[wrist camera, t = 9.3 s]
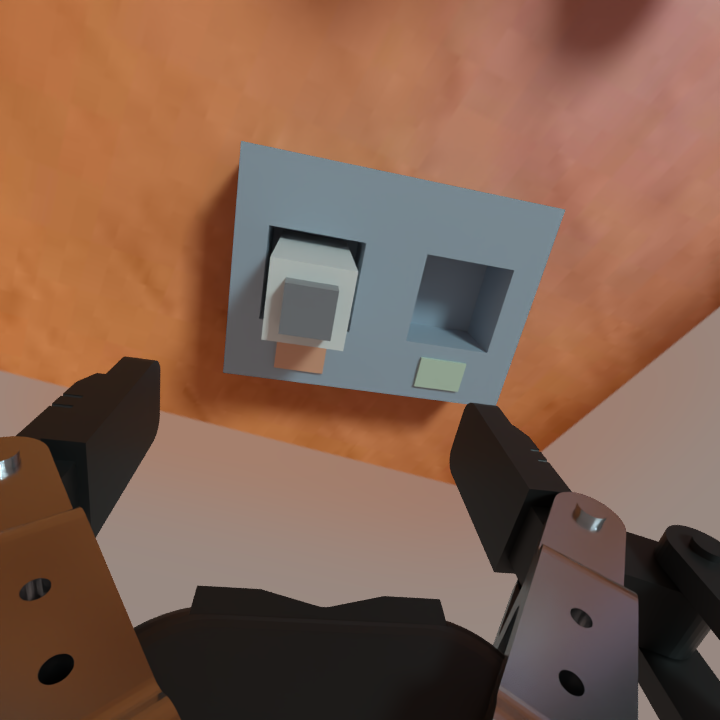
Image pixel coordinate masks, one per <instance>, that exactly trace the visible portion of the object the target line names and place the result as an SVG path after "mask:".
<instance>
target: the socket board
mask: <svg viewBox="0 0 720 720" xmlns="http://www.w3.org/2000/svg"><path fill="white" fill-rule="evenodd" d="M564 212H565V210H564V209H559V208H555V207H550V206H545V205H541V204H536V203H531V202H526V201H522V200H517V199H512V198H508V197H503V196H498V195H493V194H489V193H484V192H479V191H475V190H470V189H465V188H460V187H456V186H451V185H446V184H442V183H437V182H432V181H427V180H423V179H418V178H413V177H409V176H404V175H399V174H394V173H390V172H385V171H380V170H375V169H371V168H366V167H361V166H357V165H352V164H347V163H342V162H338V161H333V160H328V159H324V158H319V157H314V156H309V155H305V154H300V153H295V152H291V151H286V150H281V149H276V148H272V147H267V146H262V145H258V144H253V143H248V142H243V141H241V150H240V162H239V175H238V188H237V201H236V214H235V227H234V240H233V253H232V265H231V278H230V291H229V304H228V317H227V330H226V343H225V355H224V368H223V373H230V374H238V375H245V376H253V377H261V378H269V379H276V380H284V381H292V382H300V383H307V384H315V385H323V386H331V387H338V388H346V389H354V390H362V391H369V392H377V393H385V394H393V395H400V396H408V397H416V398H424V399H431V400H439V401H447V402H454V403H462V404H468V403H470V402H472V403H479V404H487V405H495V406H496V404H497V401H498V398H499V395H500V392H501V390H502V387H503V384H504V381H505V378H506V375H507V373H508V370H509V367H510V364H511V361H512V359H513V356H514V353H515V350H516V347H517V344H518V342H519V339H520V336H521V333H522V330H523V328H524V325H525V322H526V319H527V316H528V313H529V311H530V308H531V305H532V302H533V299H534V297H535V294H536V291H537V288H538V285H539V282H540V280H541V277H542V274H543V271H544V268H545V266H546V263H547V260H548V257H549V254H550V252H551V249H552V246H553V243H554V240H555V237H556V235H557V232H558V229H559V226H560V223H561V221H562V218H563V215H564ZM284 230H287V231H293V232H298V233H304V234H309V235H315V236H320V237H326V238H331V239H336V240H342V241H346V242H347V245H348V247H349V250H350V252H351V255H352V257H353V260H354V262H355V265H356V267H357V270H358V276H357V281H356V286H355V292H354V297H353V302H352V307H351V313H350V318H349V323H348V329H347V334H346V339H345V344H344V350H343V351H338V350H331V349H324V348H317V347H310V346H303V345H296V344H289V343H282V342H275V341H268V340H261V337H262V328H263V319H264V310H265V301H266V292H267V283H268V274H269V265H270V256H271V254H272V253H273V251H274V249H275V247H276V245H277V243H278V241H279V239H280V237H281V235H282V233H283V231H284Z"/></svg>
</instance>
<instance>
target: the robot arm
mask: <svg viewBox="0 0 720 720" xmlns="http://www.w3.org/2000/svg"><path fill="white" fill-rule="evenodd" d="M159 417H160V365H159V362H158V361H155V360H148V359H140V358H132V357H123V358H122V359H121V360H120V361H119V362H118V363H117V364H116V365H115V366H114V367H113V368H112V369H111V370H110V371H109V372H107V373H106V374H100V373H96V374H94V375H91V376H89V377H87V378H84V379H82V380H80V381H77V382H76V383H75V384H73V385H72V386H71V387H70V388H69V389H68V390H67V391H66V392H65V393H63V396H60V397H59V398H58V399H57V400H56V401H55V402H53V403H52V406H49V407H48V408H47V409H46V410H44V411H43V412H42V413H41V414H40V415H39V416H38V417H36V418H35V419H34V420H33V421H32V422H31V423H30V424H29V425H28V426H26V427H25V428H24V429H23V430H22V431H21V432H20V433H18V434H17V435H16V436H11V437H0V720H638V683H639V684H640V686H641V688H642V689H643V691H644V693H645V695H646V697H647V698H648V700H649V702H650V704H651V705H652V707H653V709H654V711H655V712H656V714H657V716H658V718H659V719H660V720H720V681H719V679H718V678H717V677H716V675H715V674H714V673H713V671H712V670H711V669H710V667H709V666H708V664H707V663H706V662H705V660H704V659H703V658H702V656H701V655H700V653H699V652H698V651H697V649H696V648H697V647H698V646H699V644H700V643H701V642H702V640H703V639H704V638H705V636H706V635H707V634H708V632H709V631H710V629H711V630H712V631H713V632H714V633H715V635H716V636H717V637H718V639H719V640H720V542H719V541H718V540H716V539H714V538H712V537H711V536H709V535H707V534H705V533H703V532H701V531H698V530H696V529H693V528H690V527H686V526H681V525H672V526H669V527H668V528H667V529H666V531H665V532H664V534H663V536H662V537H661V539H660V541H659V542H657V541H654V540H651V539H648V538H645V537H642V536H638V535H635V534H632V533H629V532H626V528H625V525H624V524H623V522H622V520H621V519H620V518H619V517H618V516H617V515H616V514H615V513H614V512H613V511H612V510H611V509H609V508H608V507H607V506H605V505H604V504H602V503H600V502H599V501H597V500H595V499H593V498H591V497H588V496H586V495H583V494H579V493H575V492H571V490H570V489H569V488H568V486H567V485H566V484H565V483H564V481H563V480H562V479H561V477H560V476H559V475H558V474H557V472H556V471H555V470H554V468H552V466H551V465H550V463H548V462H547V459H546V458H545V457H544V456H543V454H542V453H541V452H539V449H538V448H537V447H536V445H535V444H534V443H533V441H532V440H531V439H530V437H528V436H527V435H526V434H524V433H523V432H522V431H520V430H519V429H518V428H516V427H515V426H514V425H512V424H511V423H510V422H509V420H508V419H507V418H506V416H505V415H504V414H503V412H502V411H501V410H500V408H499V407H498V406H495V405H487V404H479V403H472V402H470V403H468V404H467V405H466V407H465V409H464V412H463V415H462V418H461V421H460V424H459V427H458V430H457V433H456V436H455V439H454V442H453V446H452V449H451V453H450V470H451V473H452V476H453V478H454V480H455V483H456V485H457V487H458V489H459V492H460V494H461V497H462V499H463V501H464V503H465V506H466V508H467V510H468V513H469V515H470V517H471V520H472V522H473V524H474V527H475V529H476V531H477V534H478V536H479V538H480V540H481V543H482V545H483V547H484V550H485V552H486V554H487V557H488V559H489V561H490V564H491V566H492V568H493V571H494V572H499V573H514V574H516V576H517V578H518V580H517V582H516V584H515V586H514V589H513V591H512V594H511V596H510V600H509V602H508V605H507V608H506V610H505V613H504V616H503V619H502V622H501V624H500V627H499V630H498V633H497V636H496V639H495V642H494V644H493V645H492V644H490V643H489V642H487V641H486V640H484V639H483V638H481V637H480V636H478V635H476V634H474V633H473V632H471V631H469V630H467V629H465V628H463V627H461V626H458V625H456V624H454V623H451V622H448V621H446V620H445V616H444V613H443V609H442V605H441V602H440V600H439V599H424V598H407V597H389V596H388V597H387V596H383V597H378V598H372V599H368V600H363V601H357V602H352V603H347V604H342V605H338V606H332V607H319V606H315V605H312V604H308V603H305V602H302V601H298V600H295V599H291V598H288V597H285V596H282V595H278V594H275V593H272V592H268V591H265V590H262V589H247V588H230V587H212V586H197V589H196V592H195V596H194V599H193V603H192V606H191V607H190V608H185V609H180V610H176V611H173V612H170V613H166V614H163V615H161V616H158V617H156V618H153V619H151V620H148V621H146V622H144V623H142V624H140V625H138V626H136V627H134V628H133V626H132V624H131V621H130V619H129V616H128V614H127V612H126V609H125V607H124V605H123V602H122V600H121V598H120V595H119V593H118V590H117V588H116V586H115V583H114V581H113V578H112V576H111V574H110V571H109V569H108V567H107V564H106V562H105V560H104V557H103V555H102V552H101V550H100V548H99V545H98V543H97V540H96V536H97V534H98V533H99V531H100V529H101V528H102V526H103V524H104V523H105V521H106V519H107V518H108V516H109V514H110V513H111V511H112V509H113V508H114V506H115V504H116V503H117V501H118V499H119V498H120V496H121V494H122V493H123V491H124V489H125V488H126V486H127V484H128V483H129V481H130V479H131V478H132V476H133V474H134V473H135V471H136V469H137V468H138V466H139V464H140V463H141V461H142V459H143V458H144V456H145V454H146V453H147V451H148V449H149V448H150V446H151V444H152V443H153V441H154V439H155V436H156V433H157V430H158V425H159Z"/></svg>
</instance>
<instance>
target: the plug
mask: <svg viewBox="0 0 720 720" xmlns="http://www.w3.org/2000/svg"><path fill="white" fill-rule="evenodd" d="M357 276H358V270H357V267H356V265H355V262H354V260H353V257H352V255H351V252H350V250H349V247H348V245H347V242H346V241H342V240H336V239H331V238H326V237H320V236H315V235H309V234H304V233H298V232H293V231H287V230H284V231H283V233H282V235H281V237H280V239H279V241H278V243H277V245H276V247H275V249H274V251H273V253H272V254H271V256H270V265H269V274H268V283H267V292H266V301H265V310H264V319H263V328H262V337H261V340H268V341H275V342H282V343H289V344H296V345H303V346H310V347H317V348H324V349H331V350H338V351H343V350H344V344H345V339H346V334H347V329H348V323H349V318H350V313H351V307H352V302H353V297H354V292H355V286H356V281H357Z"/></svg>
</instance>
